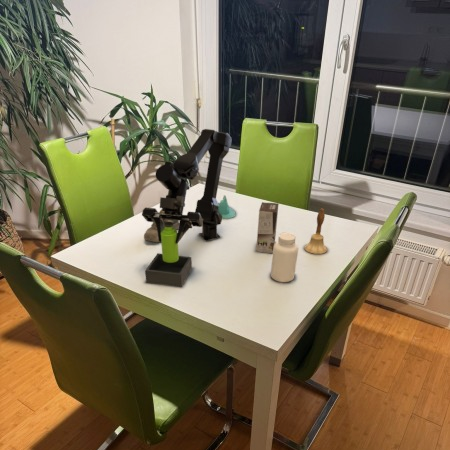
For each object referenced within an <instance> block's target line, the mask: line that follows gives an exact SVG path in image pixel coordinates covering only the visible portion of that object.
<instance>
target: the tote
mask: <svg viewBox="0 0 450 450" xmlns="http://www.w3.org/2000/svg"><path fill="white" fill-rule="evenodd" d="M192 264H193V263H192V256H187V255H186V256H185V255H179V259H178V261H176V262H173V263H167V262H165V261H163V256H162V253H160V252H159V253H158V252H157V253H156V255H155V256H154V258H153V259H151V261H150V263H149V264H148V265H147V267H146V268H145V270H144V274H145V282H146V283H149V284H156V285H157V284H158V285H166V286H174V287H180V288H181V287H183V286H184V284H185V282H186V280H187V278H188V277H189V275H190V273H191V271H192V269H193V265H192Z"/></svg>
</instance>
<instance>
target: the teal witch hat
mask: <svg viewBox="0 0 450 450" xmlns="http://www.w3.org/2000/svg"><path fill="white" fill-rule="evenodd" d="M217 203H218V205H219V209H218V211H219V213H220V214H221V215H222V220H228V219H232V218H234V217H235V216H236V212H235V210H234V209H233V208H231V207H230V206H229V202H228V199H227V196H226V195H223V198H222V199H221V200H220V201H219V202H217Z"/></svg>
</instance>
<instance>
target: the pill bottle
mask: <svg viewBox="0 0 450 450" xmlns="http://www.w3.org/2000/svg"><path fill="white" fill-rule="evenodd" d="M298 253H299V246H298V244H297V243H296V235H295V234H293V233H290V232H281V233H279V235H278V240H277V241H275V244H274V248H273V252H272V258H271V268H270V276H271V278H272V279H273V280H274V281H277V282H280V283H288V282H291V281H293V280H294V278H295V275H296V269H297V268H296V266H297V259H298V255H299V254H298Z"/></svg>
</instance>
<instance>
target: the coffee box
mask: <svg viewBox="0 0 450 450" xmlns="http://www.w3.org/2000/svg"><path fill="white" fill-rule="evenodd" d="M278 213H279V203H276V202H263V201H262V202H261V204H260V207H259V210H258V222H257V235H256V247H255V248H256V252H259V253H260V252H261V253H269V254H273V248H274V244H275V243H276V237H277V236H276V235H277V224H278V215H279V214H278Z"/></svg>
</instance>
